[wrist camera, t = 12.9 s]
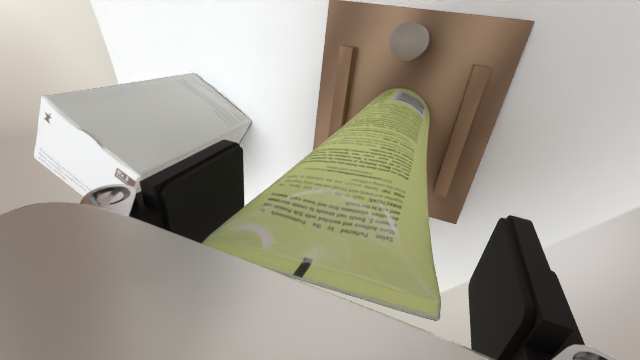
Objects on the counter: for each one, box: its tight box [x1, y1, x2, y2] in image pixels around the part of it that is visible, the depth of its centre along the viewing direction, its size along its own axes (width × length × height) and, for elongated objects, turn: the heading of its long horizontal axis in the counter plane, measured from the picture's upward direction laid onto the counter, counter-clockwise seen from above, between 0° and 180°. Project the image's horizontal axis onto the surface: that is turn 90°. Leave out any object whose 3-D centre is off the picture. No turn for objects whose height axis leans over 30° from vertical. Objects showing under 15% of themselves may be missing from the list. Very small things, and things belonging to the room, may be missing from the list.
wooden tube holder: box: [313, 0, 534, 224], centre depth 23 cm, size 14×16×8 cm
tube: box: [201, 88, 441, 321], centre depth 17 cm, size 6×5×20 cm
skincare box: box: [34, 73, 252, 197], centre depth 27 cm, size 8×6×15 cm
